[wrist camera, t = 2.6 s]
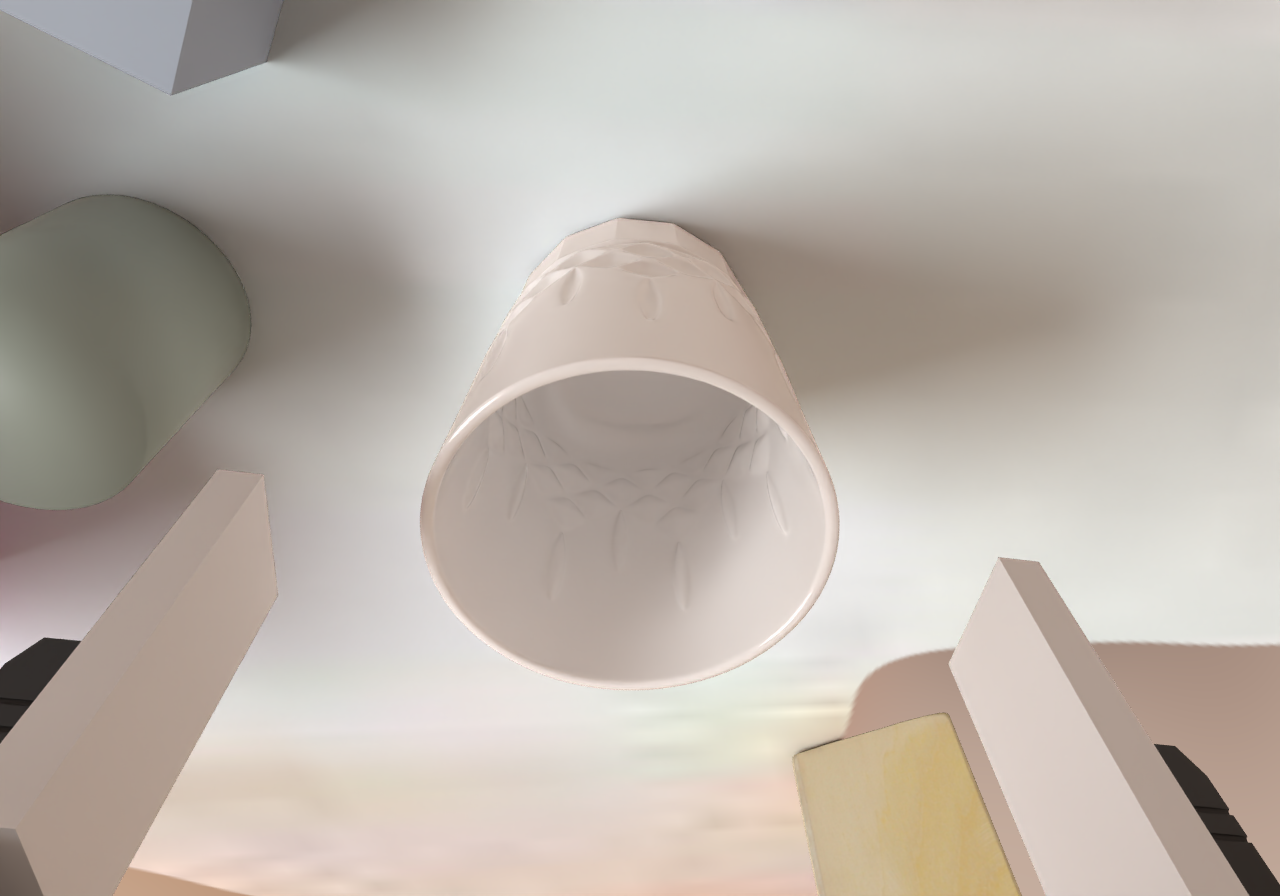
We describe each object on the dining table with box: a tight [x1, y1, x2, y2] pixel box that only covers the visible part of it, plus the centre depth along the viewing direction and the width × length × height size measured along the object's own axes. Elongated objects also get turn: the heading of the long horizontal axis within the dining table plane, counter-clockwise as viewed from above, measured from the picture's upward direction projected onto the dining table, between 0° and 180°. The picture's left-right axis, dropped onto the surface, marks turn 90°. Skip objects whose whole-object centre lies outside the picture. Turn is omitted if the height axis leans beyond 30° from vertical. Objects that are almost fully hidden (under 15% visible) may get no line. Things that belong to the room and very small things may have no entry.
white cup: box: [420, 218, 839, 690], centre depth 20 cm, size 8×8×10 cm
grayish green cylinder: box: [0, 194, 251, 510], centre depth 21 cm, size 6×6×6 cm
